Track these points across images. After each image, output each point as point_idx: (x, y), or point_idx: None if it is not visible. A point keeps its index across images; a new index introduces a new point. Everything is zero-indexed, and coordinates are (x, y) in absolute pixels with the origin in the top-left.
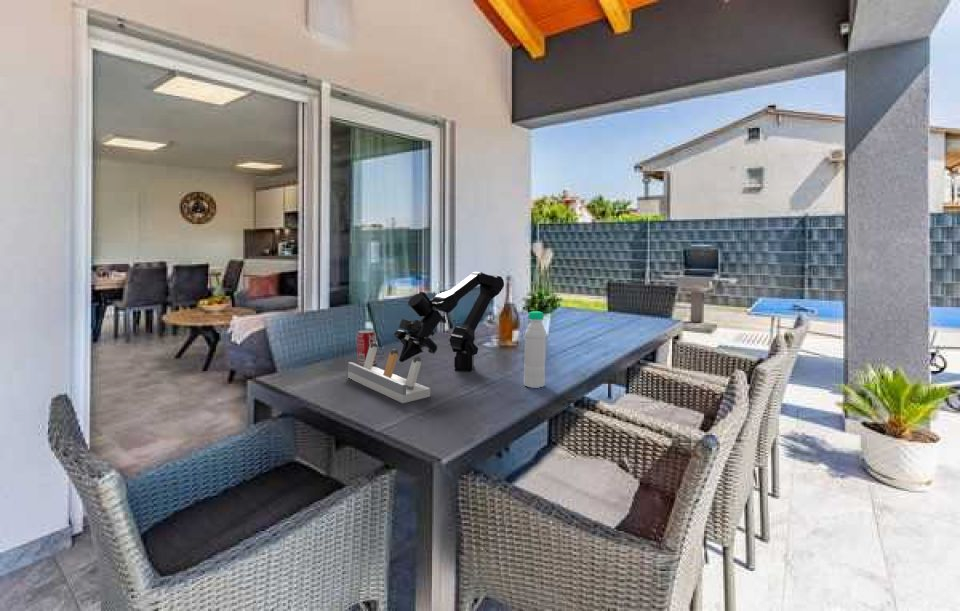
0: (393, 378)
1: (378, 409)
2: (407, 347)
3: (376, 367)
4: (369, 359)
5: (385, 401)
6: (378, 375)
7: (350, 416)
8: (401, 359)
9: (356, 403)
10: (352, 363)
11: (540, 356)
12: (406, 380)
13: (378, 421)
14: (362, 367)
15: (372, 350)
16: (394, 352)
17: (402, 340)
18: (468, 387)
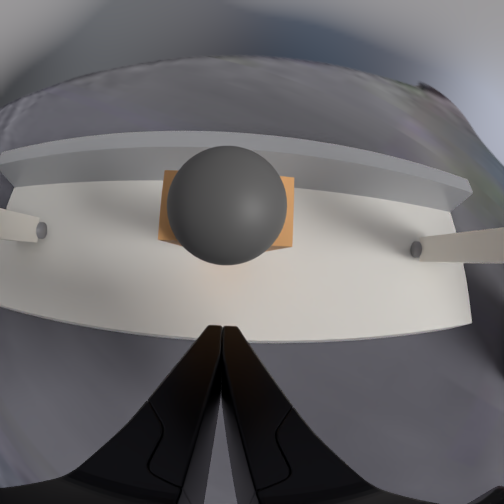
0: (213, 281)
1: (68, 123)
2: (171, 477)
3: (455, 324)
4: (459, 233)
5: None
6: (173, 132)
7: (99, 76)
8: (200, 337)
9: (150, 100)
10: (453, 180)
11: None
12: (26, 214)
13: (35, 107)
14: (376, 160)
15: (501, 228)
16: (178, 173)
17: (477, 500)
18: (10, 479)
